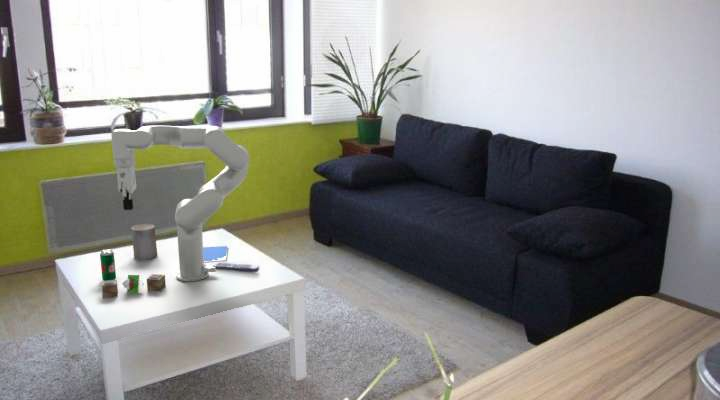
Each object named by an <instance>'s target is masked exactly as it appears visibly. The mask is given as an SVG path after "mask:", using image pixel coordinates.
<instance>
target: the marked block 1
mask: <svg viewBox="0 0 720 400" xmlns="http://www.w3.org/2000/svg"><path fill="white" fill-rule="evenodd" d="M101 290H102V291H101V292H102V293H101V294H102V299H110V298H117V297H118V295H119V289H118V280H117V279H115V280H108V281H103V280H102V281H101Z"/></svg>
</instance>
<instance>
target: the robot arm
mask: <svg viewBox="0 0 720 400" xmlns="http://www.w3.org/2000/svg"><path fill="white" fill-rule="evenodd" d="M160 145H161V146H173V147H176V148H178V149H183V150H185V149H186V150H187V149H188V150H189V149H190V150H191V149H208V151H209V152H210V153H212V154H213V155H214V156H215V157H216V158H218V159H219V160H220V161H221V162H222V163H223V164H225V165H226V166H225V168H224V169H223V170H221V171H220V172H219V173H218V174H217V175H216V176H214V177H213V178H212V179H211V180H209V181H208V182H207V183H205V184H203V185H202V186H201V187H200V188H199V189H198V193H197V195H195V196H194V197H193V198H184V199H182V200H180V201H179V202H178V203H177V206H176V208H175V215H174V220H175V223H176V228H177V229H176V231H177V234H176V235H177V246H178V248H177V249H178V250H177V251H178V264H179V271H178V272H177V273H175V278H176V279H177V280H178V281H181V282H197V281H201V279H202V280H204V279H206V278H208V276H209V273H216V269H217V268H216V266H213V265H207V264H206V262H204V256H203V247H204V244H203V243H204V242H203V223H204V222H206V220H208V219H209V218H210V217H212V216H213V215H214V214H215V213H217V212H218V211H219V209H221V207H222V206H223V203H224V199H225V198H226V197H227V196H228V195H230V194H231V193H232V192H233V191H235V189H236V188H238V187H239V186H240V185H241V184H242V182H244V180H245V178H246V176H247V174H248V171H249V169H250V168H249V166H250V155H249V152H248V150H247V149H246V147H244V146H243V145H240V144H237V143H235V142H234V140H232V139H231V138H230V137H229V136H227V134H226V132H225V131H224V129H223V128H222V127H220V126H217V125H199V126H198V125H195V126H194V125H192V126H191V125H188V126H187V125H185V126H184V125H183V126H181V125H175V126H174V125H173V126H172V125H145V126H141V127H139V128H137V129H136V130H131V129H129V128H116V129H113V130H112V131H111V147H112V154H113V156H112V157H113V167H114V168H116V174H117V175H116V176H117V189H118V190H117V191H118V193H120V194H122V203H123V205H122V206H123V210H124V211H131V210H133V209H134V200H133V192H134V191H135V190H136V189H137V181H136V180H137V179H136V172H135V166H136V160H135V159H136V157H135V149H136V150H148V149H150V148H151V147H152V146H160Z"/></svg>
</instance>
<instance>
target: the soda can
mask: <svg viewBox="0 0 720 400" xmlns="http://www.w3.org/2000/svg"><path fill="white" fill-rule="evenodd" d="M99 258H100V259H99V260H100V267H101V269H100V270H101V277H102V281H108V280H117V273H116V272H117V271H116V262H115V252H114V251H113V250H112V249H111V248H110V249H108V248H107V249H103V250H101V251H100V253H99Z"/></svg>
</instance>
